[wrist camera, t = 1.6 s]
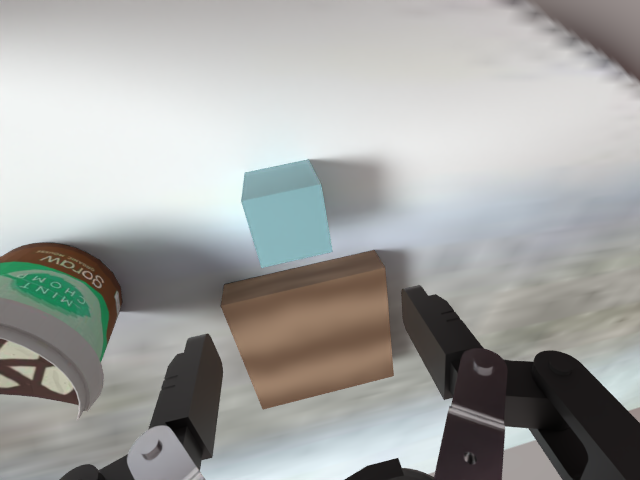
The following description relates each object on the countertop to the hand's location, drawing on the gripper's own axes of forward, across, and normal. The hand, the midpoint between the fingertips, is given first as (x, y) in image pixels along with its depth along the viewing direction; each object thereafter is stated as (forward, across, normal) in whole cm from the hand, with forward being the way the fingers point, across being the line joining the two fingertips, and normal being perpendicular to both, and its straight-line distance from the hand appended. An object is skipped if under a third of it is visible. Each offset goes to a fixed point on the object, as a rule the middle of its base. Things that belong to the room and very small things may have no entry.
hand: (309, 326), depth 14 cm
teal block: (+15, 0, 0) cm, 15 cm away
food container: (+15, +18, +2) cm, 24 cm away
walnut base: (+15, 0, +14) cm, 20 cm away
